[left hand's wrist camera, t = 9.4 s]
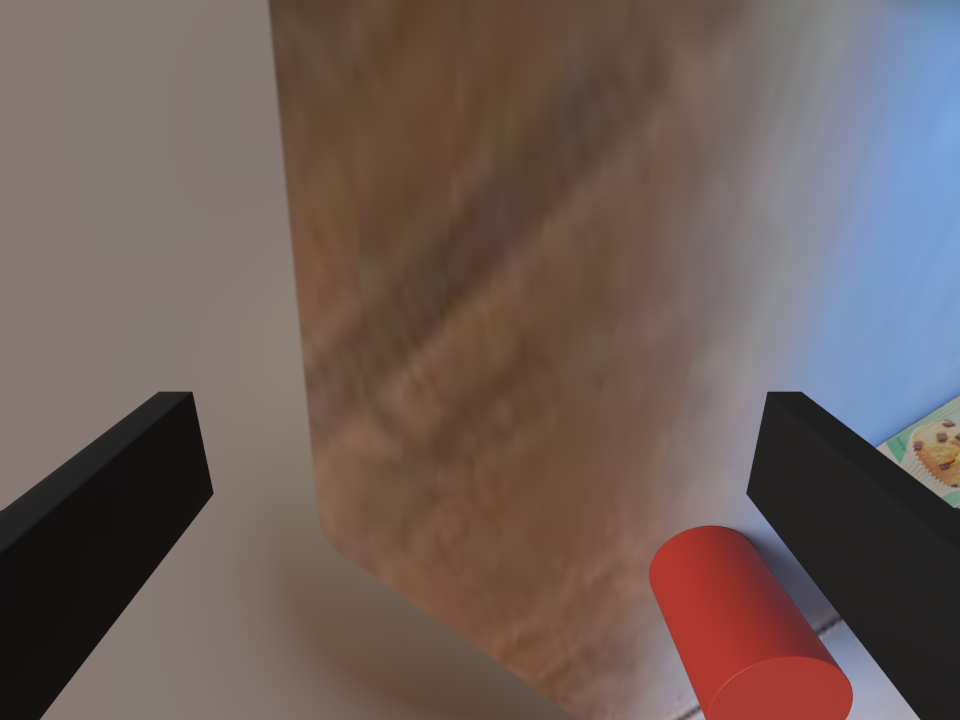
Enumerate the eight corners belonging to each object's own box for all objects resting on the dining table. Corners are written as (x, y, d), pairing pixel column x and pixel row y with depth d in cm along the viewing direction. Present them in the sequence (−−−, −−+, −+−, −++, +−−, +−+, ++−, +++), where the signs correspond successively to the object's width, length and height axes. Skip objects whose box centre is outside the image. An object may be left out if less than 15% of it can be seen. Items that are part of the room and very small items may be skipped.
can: (635, 548, 43) (691, 684, 32) (742, 510, 42) (839, 638, 31) (666, 624, 46) (727, 773, 35) (767, 591, 45) (864, 734, 34)
